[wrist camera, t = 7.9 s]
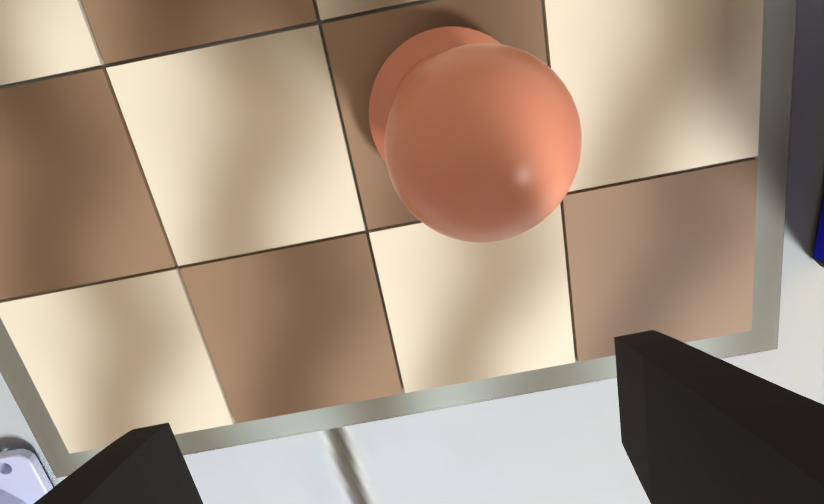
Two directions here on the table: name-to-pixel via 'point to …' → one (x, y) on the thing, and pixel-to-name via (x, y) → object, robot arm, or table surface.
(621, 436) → the robot arm
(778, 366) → the table surface
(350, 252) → the board
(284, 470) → the table surface
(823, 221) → the puzzle cube
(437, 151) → the pawn
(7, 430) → the table surface
